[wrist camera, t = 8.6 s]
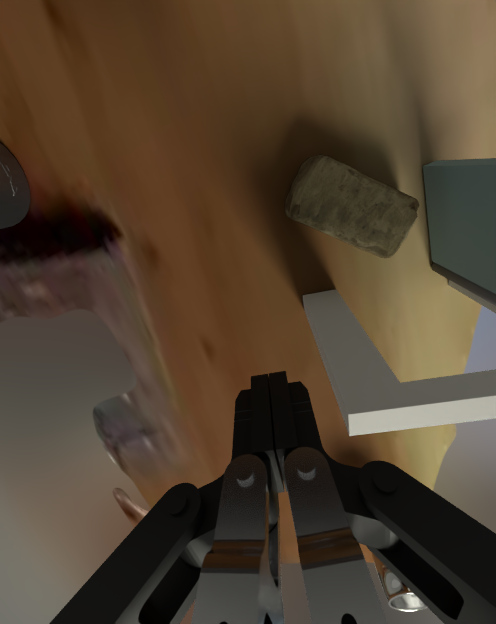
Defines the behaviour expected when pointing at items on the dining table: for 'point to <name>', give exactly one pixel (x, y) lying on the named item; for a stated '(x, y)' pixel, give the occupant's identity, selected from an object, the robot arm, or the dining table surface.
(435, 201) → the door
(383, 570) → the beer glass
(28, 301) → the dining table surface
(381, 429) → the door frame
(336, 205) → the stone block
